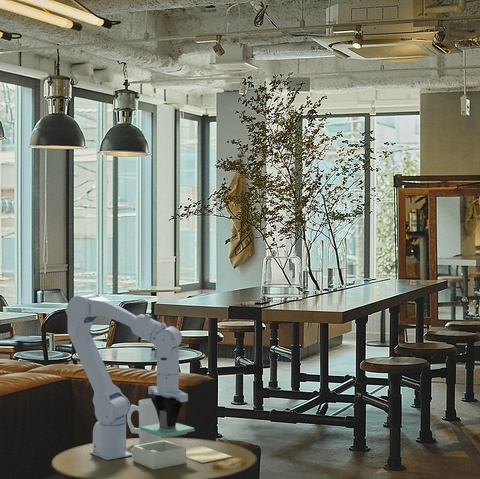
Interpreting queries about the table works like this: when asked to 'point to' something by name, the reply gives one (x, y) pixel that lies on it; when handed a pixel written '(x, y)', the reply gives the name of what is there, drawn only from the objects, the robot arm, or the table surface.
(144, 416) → the mug
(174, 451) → the storage box
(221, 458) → the cork mat
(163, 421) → the lid
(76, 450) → the table surface
